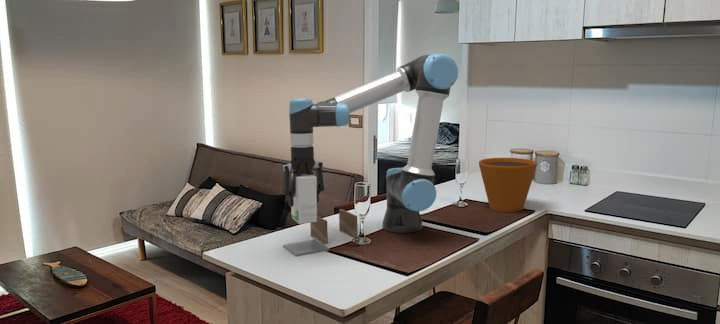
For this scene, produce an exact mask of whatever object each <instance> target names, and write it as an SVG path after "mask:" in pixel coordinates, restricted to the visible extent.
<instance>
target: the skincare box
mask: <svg viewBox="0 0 720 324" xmlns="http://www.w3.org/2000/svg"><path fill="white" fill-rule="evenodd" d="M292 177H293V173H291V178H292ZM317 186H318V185H317V177H316V175H314V174H313V175H309V174H305V173H304V174H301V175H300V176H298V177H296V190H295V193H294V196H295V197H296V210H297V216H293V215H292V214H291V218H292V220H293V221H295V222H297V224H298V225H302V224H309V223H312V222H317V216H318V203H317Z"/></svg>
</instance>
